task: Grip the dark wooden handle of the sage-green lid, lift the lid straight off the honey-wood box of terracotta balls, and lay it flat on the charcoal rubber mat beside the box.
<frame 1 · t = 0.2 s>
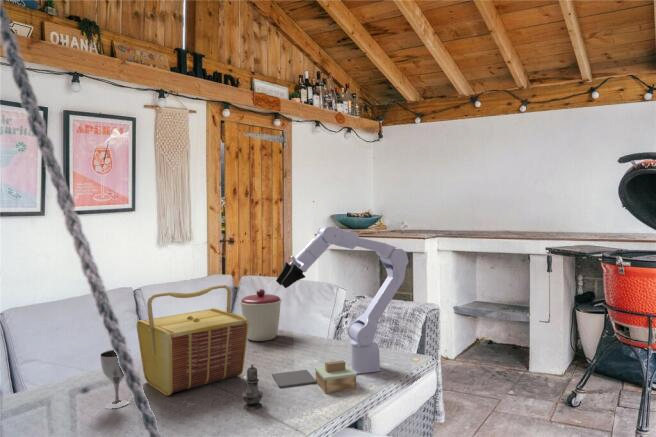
hand: (280, 284, 160), 31 cm above the table, tool tilted 45°, fingers open, 7 cm apart
wine glass: (117, 404, 144), on the table
mat: (293, 379, 162), on the table
canister: (261, 338, 213), on the table
lid: (335, 372, 156), point 4 cm above the table, touching box
picnic basket: (193, 380, 163), on the table
salt shaker: (252, 406, 141), on the table
box: (335, 385, 156), on the table
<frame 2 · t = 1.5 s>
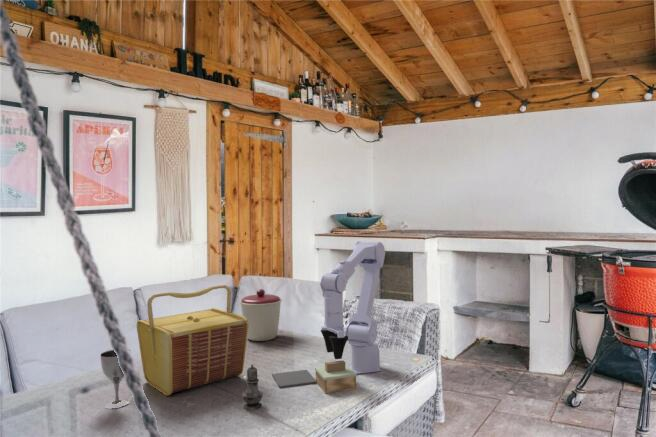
hand: (334, 355, 155), 10 cm above the table, tool pointing down, fingers open, 7 cm apart
nothing on the table moved.
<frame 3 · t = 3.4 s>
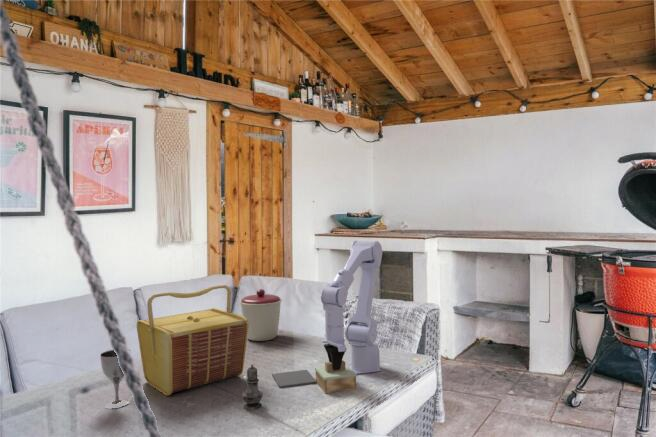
hand: (335, 368, 156), 5 cm above the table, tool pointing down, fingers closed on lid, 2 cm apart
lid: (335, 372, 156), point 4 cm above the table, touching box, gripper
everything else where it was.
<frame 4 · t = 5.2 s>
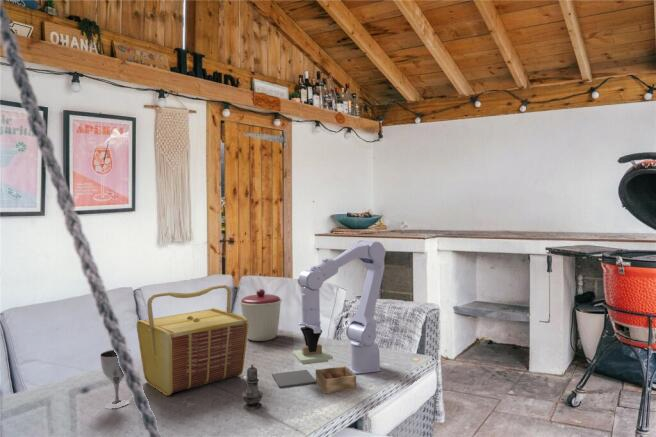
hand: (311, 350, 159), 10 cm above the table, tool pointing down, fingers closed on lid
lid: (312, 356, 159), point 8 cm above the table, touching gripper
everything else where it was.
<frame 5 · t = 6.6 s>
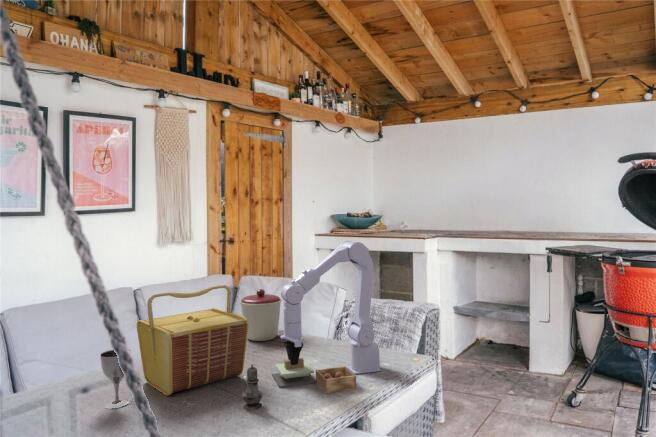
hand: (293, 363, 162), 5 cm above the table, tool pointing down, fingers closed on lid, 2 cm apart
lid: (294, 369, 162), point 3 cm above the table, touching gripper
everything else where it was.
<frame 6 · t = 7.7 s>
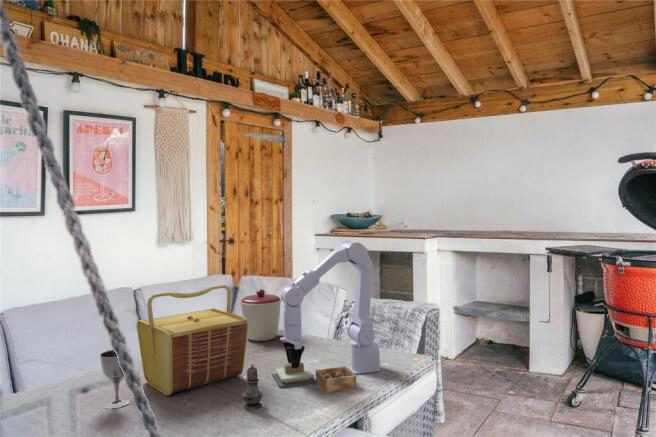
hand: (293, 365, 162), 5 cm above the table, tool pointing down, fingers open, 5 cm apart
lid: (294, 374, 162), point 2 cm above the table, touching mat
everything else where it was.
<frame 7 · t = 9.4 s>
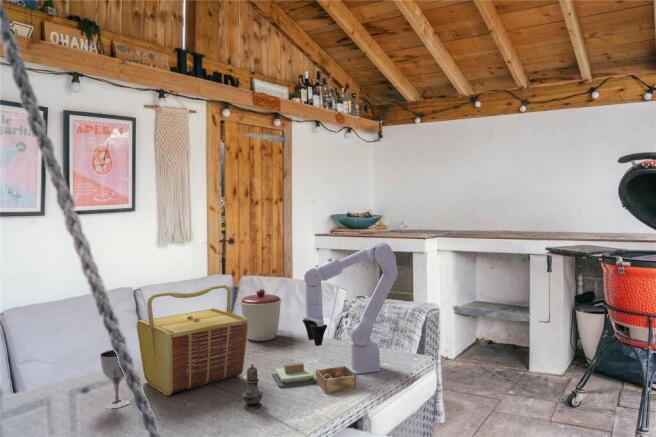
hand: (315, 342, 171), 9 cm above the table, tool pointing down, fingers open, 7 cm apart
nothing on the table moved.
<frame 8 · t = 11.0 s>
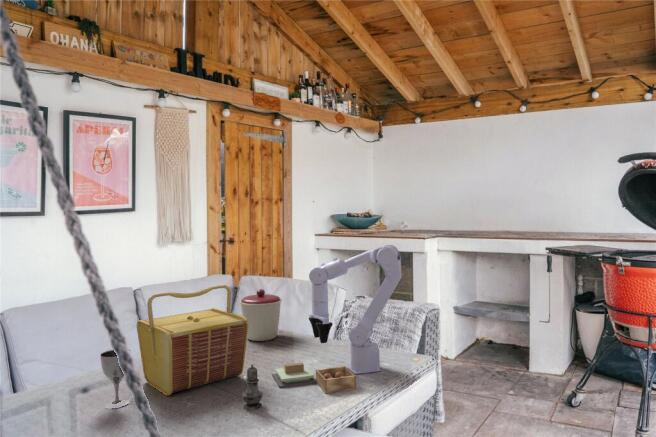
hand: (320, 340, 174), 9 cm above the table, tool pointing down, fingers open, 7 cm apart
nothing on the table moved.
at the end: lid 0.2 cm off-centre on the mat, point 1.6 cm above the mat's base; lid tilted 0°; the gripper is holding nothing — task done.
